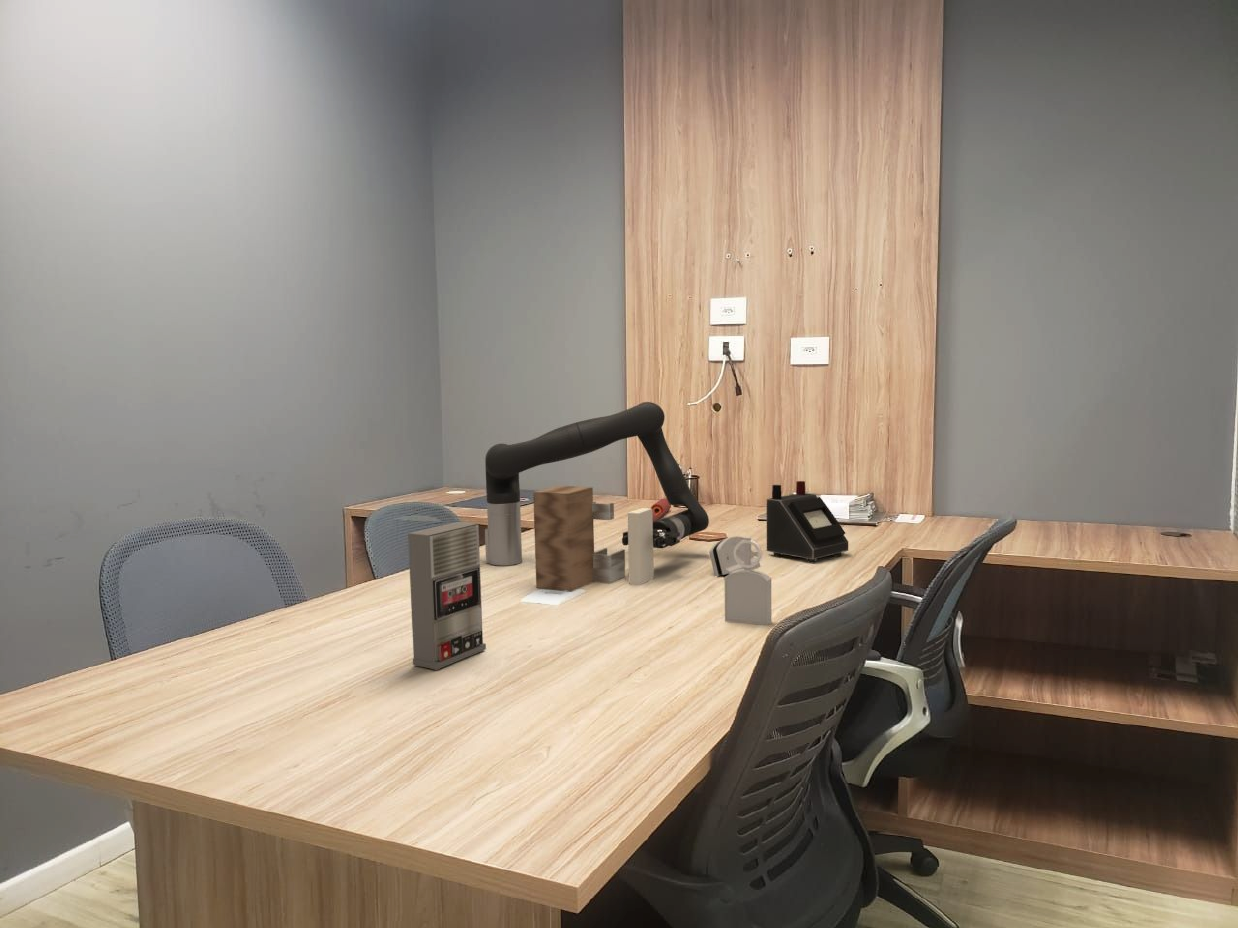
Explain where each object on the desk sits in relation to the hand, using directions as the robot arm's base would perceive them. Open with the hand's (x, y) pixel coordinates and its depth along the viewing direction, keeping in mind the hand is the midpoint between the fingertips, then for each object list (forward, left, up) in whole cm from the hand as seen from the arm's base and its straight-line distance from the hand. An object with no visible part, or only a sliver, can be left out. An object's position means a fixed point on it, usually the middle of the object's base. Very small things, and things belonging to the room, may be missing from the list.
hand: (639, 542), depth 235 cm
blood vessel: (-36, +85, -11) cm, 93 cm away
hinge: (+17, +21, -10) cm, 29 cm away
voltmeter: (+30, +46, -10) cm, 56 cm away
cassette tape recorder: (-6, -70, -10) cm, 71 cm away
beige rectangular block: (0, +1, -10) cm, 10 cm away
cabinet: (-14, -6, -10) cm, 18 cm away
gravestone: (+37, -24, -10) cm, 45 cm away
